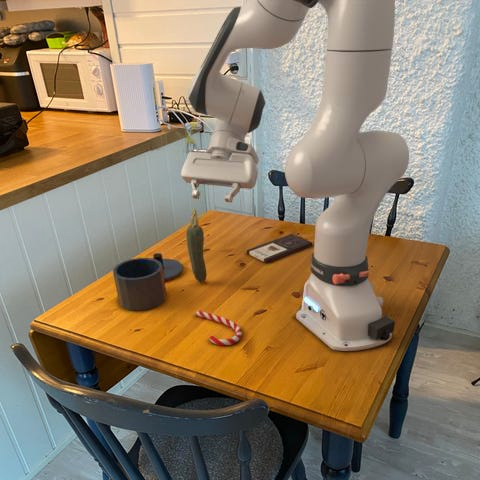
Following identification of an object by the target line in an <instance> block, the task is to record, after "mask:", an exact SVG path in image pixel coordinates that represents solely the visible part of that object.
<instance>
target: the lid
mask: <svg viewBox="0 0 480 480" xmlns="http://www.w3.org/2000/svg"><path fill="white" fill-rule="evenodd" d="M152 256H153V257H152V259H156V260H158V261H159V262H161V264H162V267H163V274H164V281H167V280H171V279H174V278H176V277H177V276H179V275H180V274H181V273H182V272H183V268H184V267H183V264H182V263H181V262H180V261H178V260H176V259H172V258H163V254H162V253H160V252H158V253H154V254H152Z"/></svg>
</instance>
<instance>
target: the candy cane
mask: <svg viewBox="0 0 480 480" xmlns="http://www.w3.org/2000/svg"><path fill="white" fill-rule="evenodd" d="M195 316H196V317H200V318H203V319H207V320H209V321H213V322H217V323H219V324H223V325H225V326H228V327H229V328H231V329H232V330H234V332H235V334H234V336H232V337H230V338H225V339H219V338H216V337H215V336H214V335H210V336H209V341H210V342H211V343H213V344H215V345H217V346H231V345H235V344H236V343H237V342H238V341H239V340H241V338H242V335H243V332H242V331H243V330H242V329H241V327H240V325H238V324H237V323H235V322H234V321H232V320H230V319H229V318H225V317H222V316H219V315H216V314H213V313H209V312H205V311H202V310H197V311H196V312H195Z"/></svg>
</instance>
